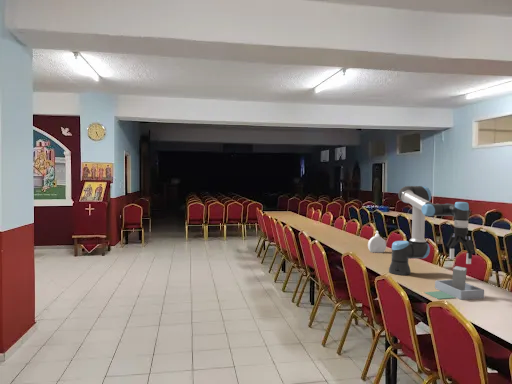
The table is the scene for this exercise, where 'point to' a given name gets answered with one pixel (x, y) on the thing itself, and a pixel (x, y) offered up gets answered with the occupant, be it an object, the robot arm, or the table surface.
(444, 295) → the pad
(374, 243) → the soap bottle
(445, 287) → the parts bin
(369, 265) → the table surface
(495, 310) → the table surface
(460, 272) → the skincare box
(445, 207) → the robot arm
